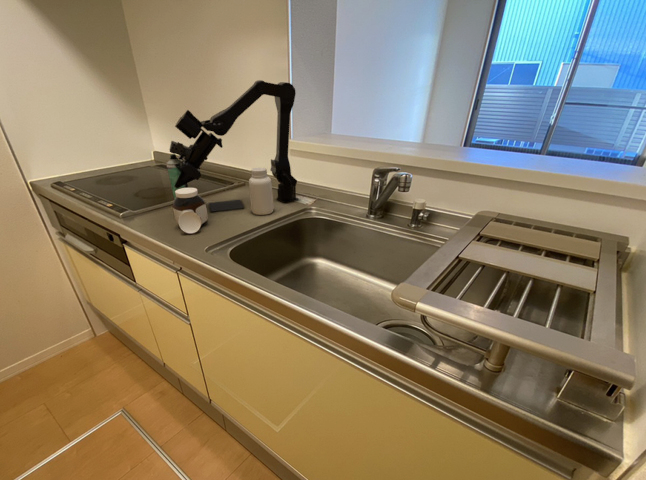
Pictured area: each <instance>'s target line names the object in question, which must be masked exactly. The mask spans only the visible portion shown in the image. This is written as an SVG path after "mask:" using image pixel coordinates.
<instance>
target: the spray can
mask: <svg viewBox="0 0 646 480" xmlns="http://www.w3.org/2000/svg"><path fill="white" fill-rule="evenodd" d="M182 163H183V162H182V161H181V159H178V156H177V154H173V153H171V154H170V157H169V160H168V161H166V169H167V173H168V177H169V178H168V179H169V182H170V186H171V191H172V195H173V199H174V200H175V198H176V194H175V191H176V190H178V189H181V188H189V184H188V183H186V184H184V185H183V186H181V187H179V188H176V187H175V184H176V181H177V179H178V177H179V175H180V173H181V171H180V166H181V165H182ZM174 200H173V201H174Z"/></svg>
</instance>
